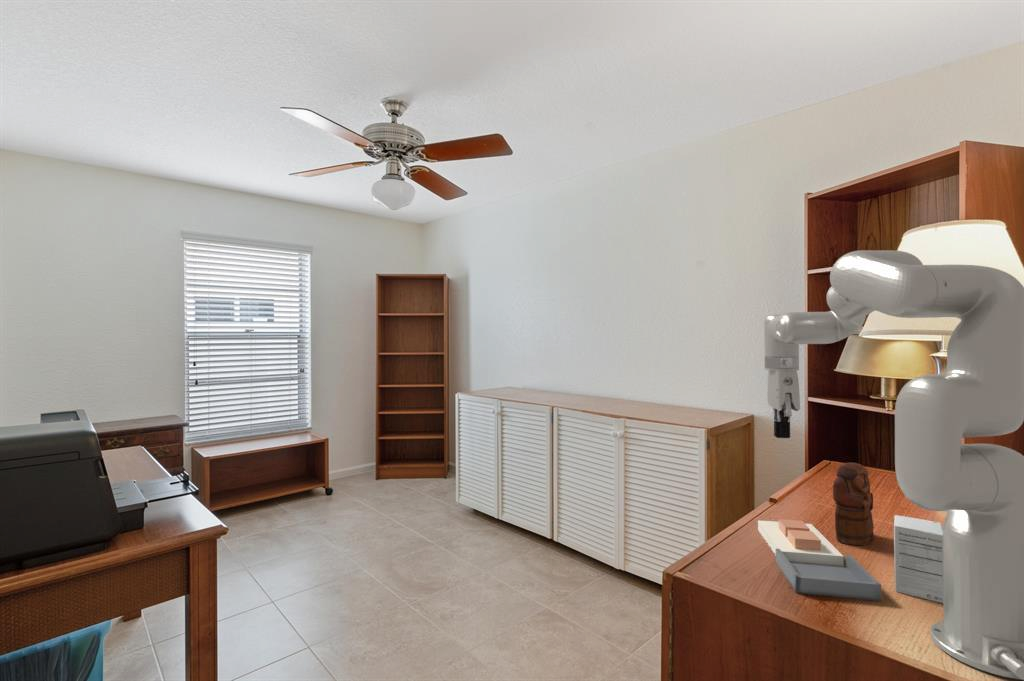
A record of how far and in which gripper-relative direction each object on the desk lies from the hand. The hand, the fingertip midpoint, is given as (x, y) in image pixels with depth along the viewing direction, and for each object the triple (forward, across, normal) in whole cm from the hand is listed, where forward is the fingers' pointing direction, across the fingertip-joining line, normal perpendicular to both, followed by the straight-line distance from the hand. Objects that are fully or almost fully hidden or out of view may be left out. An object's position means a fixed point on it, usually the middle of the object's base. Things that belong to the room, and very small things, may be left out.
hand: (782, 437), depth 121 cm
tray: (+23, -26, 0) cm, 35 cm away
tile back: (+21, -8, 0) cm, 22 cm away
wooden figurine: (+24, -2, -15) cm, 28 cm away
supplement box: (+23, -26, -16) cm, 39 cm away
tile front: (+21, -15, 0) cm, 25 cm away
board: (+23, -10, 0) cm, 25 cm away
